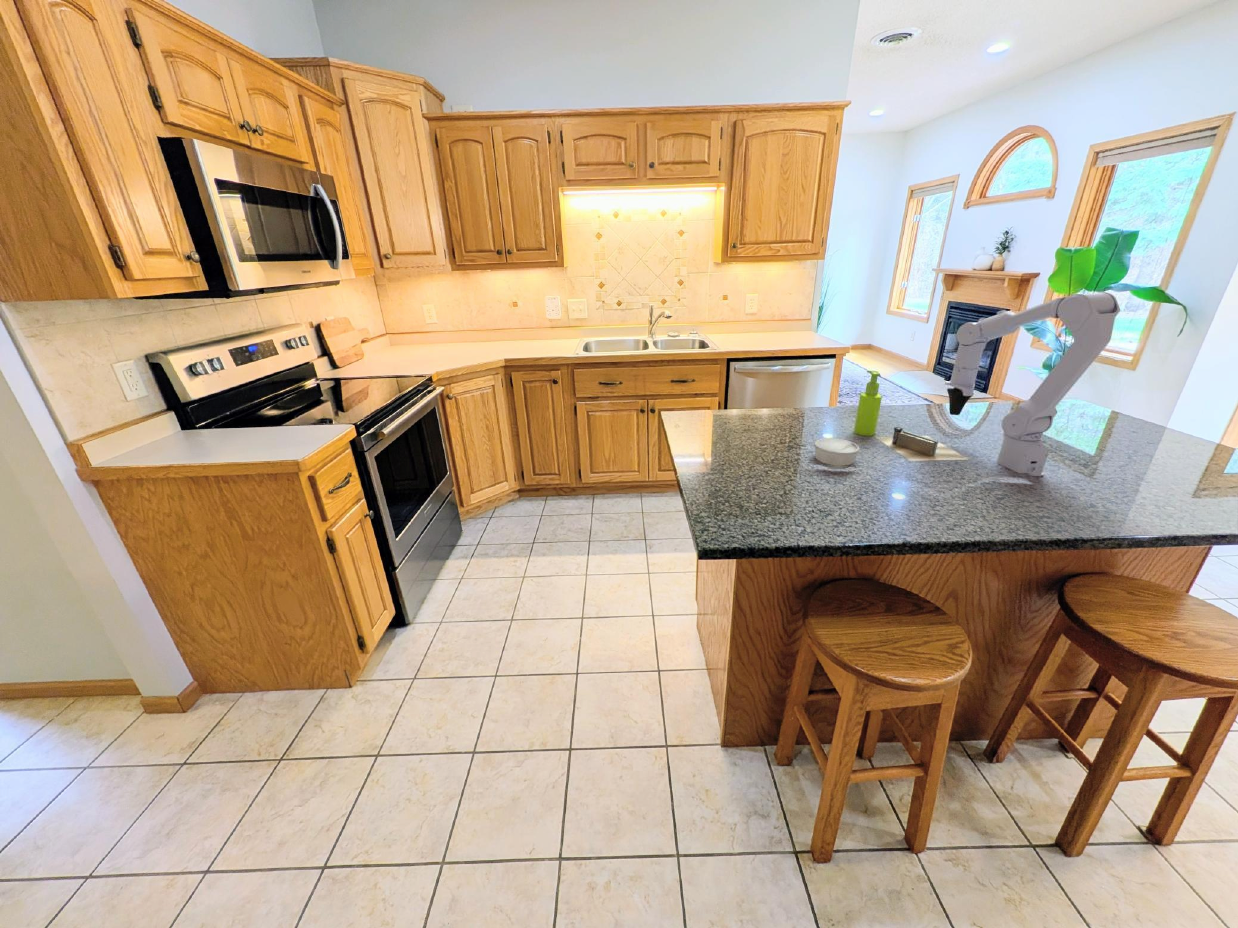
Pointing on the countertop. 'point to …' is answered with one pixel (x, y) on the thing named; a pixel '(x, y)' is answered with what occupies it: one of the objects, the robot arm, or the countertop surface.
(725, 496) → the countertop surface
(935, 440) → the slate bar
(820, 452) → the ramekin
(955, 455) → the maple board
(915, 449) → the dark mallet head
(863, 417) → the soap dispenser
